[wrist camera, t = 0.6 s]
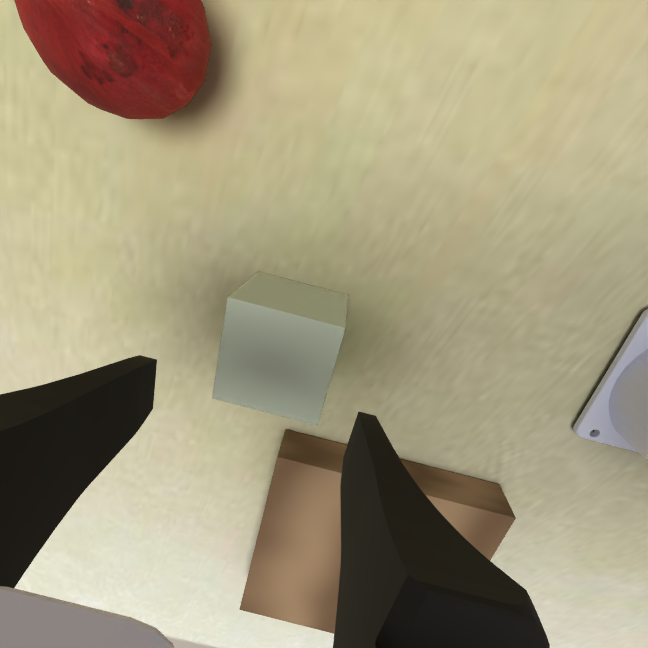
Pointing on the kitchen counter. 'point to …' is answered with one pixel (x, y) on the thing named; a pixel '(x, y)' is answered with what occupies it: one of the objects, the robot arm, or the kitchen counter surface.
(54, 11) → the onion
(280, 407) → the sage block
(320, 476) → the walnut base
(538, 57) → the kitchen counter surface
